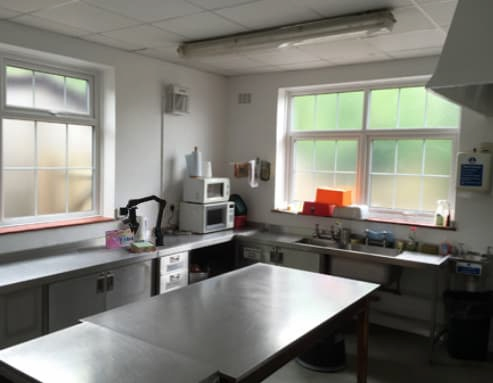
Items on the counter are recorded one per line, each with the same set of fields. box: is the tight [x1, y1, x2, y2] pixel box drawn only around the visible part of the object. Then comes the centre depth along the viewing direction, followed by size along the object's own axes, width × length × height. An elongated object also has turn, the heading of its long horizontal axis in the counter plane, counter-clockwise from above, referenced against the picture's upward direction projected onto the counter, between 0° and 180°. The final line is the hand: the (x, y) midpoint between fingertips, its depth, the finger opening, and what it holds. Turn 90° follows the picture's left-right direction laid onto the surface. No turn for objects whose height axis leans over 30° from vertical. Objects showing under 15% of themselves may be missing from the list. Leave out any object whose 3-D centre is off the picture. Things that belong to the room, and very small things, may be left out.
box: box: [129, 240, 157, 254], centre depth 357 cm, size 16×18×5 cm
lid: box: [133, 239, 154, 248], centre depth 357 cm, size 13×18×3 cm
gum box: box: [104, 227, 135, 250], centre depth 371 cm, size 24×8×14 cm, turn 134°
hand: (133, 233), depth 365 cm, fingers open, 9 cm apart
